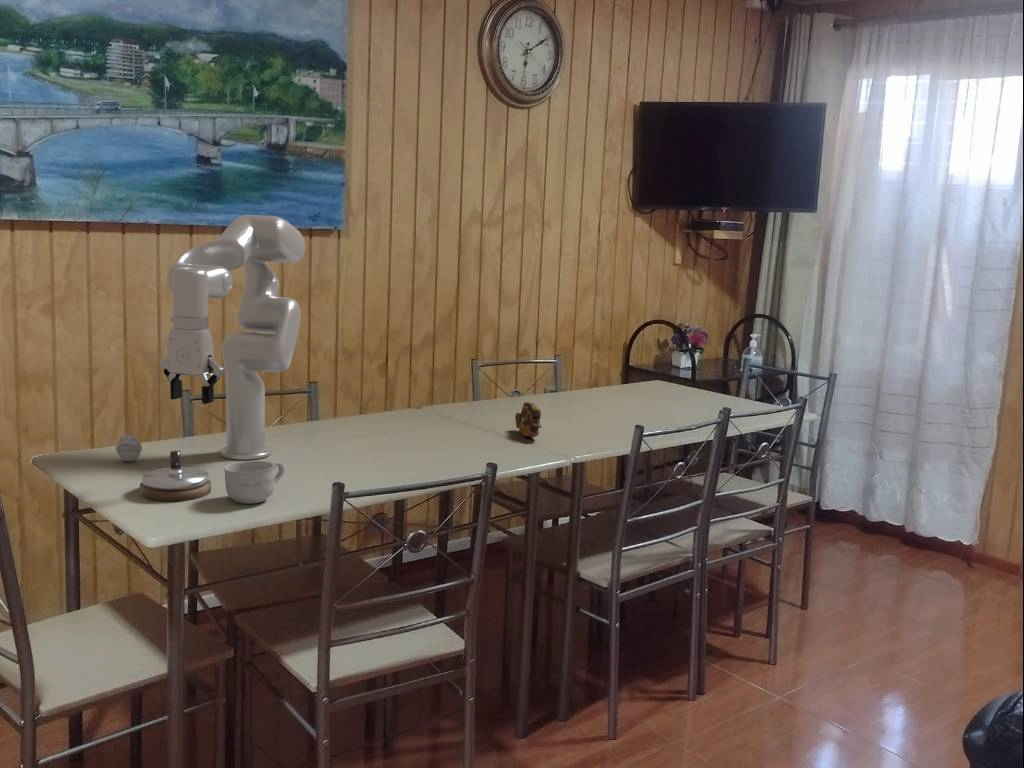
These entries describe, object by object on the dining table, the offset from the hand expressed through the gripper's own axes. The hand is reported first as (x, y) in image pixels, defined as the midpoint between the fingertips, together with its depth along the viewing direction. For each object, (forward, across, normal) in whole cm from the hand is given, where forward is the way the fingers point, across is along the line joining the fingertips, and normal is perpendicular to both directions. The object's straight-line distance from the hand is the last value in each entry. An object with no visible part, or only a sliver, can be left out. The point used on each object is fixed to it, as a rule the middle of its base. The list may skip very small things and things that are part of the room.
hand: (192, 400), depth 223 cm
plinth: (+20, 0, -6) cm, 21 cm away
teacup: (+20, +18, -1) cm, 27 cm away
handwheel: (+18, 0, -6) cm, 19 cm away
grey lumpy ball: (+20, -26, +9) cm, 34 cm away
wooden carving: (+20, +49, +87) cm, 102 cm away
